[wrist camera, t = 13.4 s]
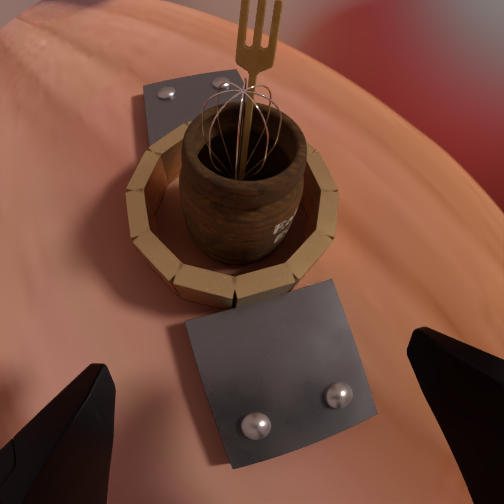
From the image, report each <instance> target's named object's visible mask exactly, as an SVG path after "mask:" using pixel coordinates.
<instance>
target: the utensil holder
mask: <svg viewBox="0 0 504 504" xmlns="http://www.w3.org/2000/svg"><path fill="white" fill-rule="evenodd" d="M249 4H250V0H242V1H241V10H240V19H239V29H238V39H237V49H236V60H235V61H236V63H237V65H239V66H240V67H242V68H243V69H245V70H246V71H248V73H249V82H248V88H247V89H246V81H247V79H246V78H245V79H244V84H243V89H241V88H240V87H239V86H237V85H236V84H234V83H231V82H223V83H221V84H220V85H219V87H218V90H217V94H215V95H213V96H212V97H210V98H209V99H208V100H207V101H206V102H205V104H204V105H203V108H202V113H201V114H199V115H198V116H197V117H196V118H195V119H194V120H193V121H192V122H191V123H190V125H189V126H188V128H187V130H186V132H185V134H184V137H183V143H182V151H181V161H182V166H181V170H180V177H179V187H180V195H181V201H182V206H183V210H184V215H185V219H186V222H187V226H188V229H189V231H190V234H191V236H192V238H193V239H194V241H195V243H196V244H197V245H198V246H199V248H200V249H201V250H203V251H204V252H205V253H206V254H207V255H209V256H210V257H212V258H214V259H216V260H219V261H221V262H225V263H229V264H248V263H252V262H256V261H259V260H261V259H263V258H265V257H266V256H268V255H270V254H271V253H272V252H273V251H274V250H275V249H276V248H277V247H278V246H279V245H280V244H281V242H282V241H283V239H284V238H285V236H286V234H287V232H288V230H289V228H290V226H291V223H292V221H293V219H294V217H295V214H296V212H297V209H298V207H299V204H300V201H301V197H302V193H303V184H304V178H303V174H304V171H305V168H306V161H307V144H306V140H305V137H304V135H303V133H302V131H301V129H300V128H299V126H298V125H297V124H296V123H295V122H294V121H293V120H292V119H291V118H290V117H289V116H287V115H286V114H284V113H283V112H281V111H280V109H279V108H278V106H277V105H276V104H275V103H274V102H273V101H272V100H271V98H272V94H271V91H270V89H269V88H268V87H267V86H264V85H256V78H257V75H258V73H259V72H262V71H264V70H267V69H269V68H272V66H273V65H274V59H275V52H276V46H277V39H278V32H279V25H280V19H281V13H282V6H283V2H282V0H276V1H275V4H274V10H273V17H272V24H271V31H270V38H269V45H268V47H267V48H262V47H261V39H262V31H263V23H264V16H265V7H266V0H258V7H257V14H256V22H255V30H254V38H253V45H252V46H251V47H248V46H246V45H245V40H246V31H247V21H248V12H249ZM225 83H229V84H232V85H234V86H236V87H237V88H239V89H240V90H229V91H223V92H220V93H219V89H220V87H221V86H222V85H223V84H225ZM259 86H262V87H265V88H267V89H268V90H269V92H270V99H269V98H268V97H266V96H264V95H262V94H259V93H256V92H255V87H259ZM246 90H248V91H246ZM226 92H239V93H238V94H236V95H235V96H233V97H232V98H231V99H230V100H228V101H227V102H226V103H223V104H220V105H218V95H219V94H222V93H226ZM246 92H247V93H246ZM241 93H242V98H241V101H237V102H230V101H231V100H232V99H234V98H235V97H236V96H238V95H239V94H241ZM245 94H246V95H247V101H245ZM254 94H257V95H260V96H262V97H264V98H266V99H268V100H269V101H270V103H269V106H268V105H264V104H260V103H255V102H254ZM215 96H217V105H216V106H214V107H211V108H209V109H207V110H205V111H204V112H203V110H204V107H205V105H206V104H207V102H208V101H209V100H210V99H212V98H213V97H215ZM243 96H244V101H243ZM271 102H272V103H273V104H274V105H275V106H276V108H277V109H278V110H277V109H275V108H273V107H270V106H271Z"/></svg>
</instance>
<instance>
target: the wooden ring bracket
mask: <svg viewBox="0 0 504 504" xmlns="http://www.w3.org/2000/svg"><path fill="white" fill-rule="evenodd" d="M223 82H231V83H234V84H236V85H237V86H239V87H240V88H241V89H243V84H244V83H243V81H242V79H241V77H240V75H239V73H238V71H237V69H234V70H226V71H218V72H211V73H205V74H198V75H192V76H187V77H182V78H176V79H171V80H167V81H162V82H158V83H153V84H149V85H145V86H143V91H144V102H145V111H146V120H147V128H148V136H149V144H150V147H149V151H145V153H144V155H143V156H142V158H141V160H140V162H139V164H138V166H137V168H136V170H135V172H134V174H133V176H132V178H131V180H130V182H129V184H128V186H127V188H126V190H127V192H125V194H126V204H127V212H128V221H129V228H130V236H131V239H132V240H133V243H134V245H135V246H136V248H137V249H138V251H139V252H140V253H141V255H142V256H143V258H144V259H145V261H146V262H147V264H148V265H149V266H150V267H151V268H152V269H153V270H154V271H155V272H156V273H157V274H158V275H159V276H160V277H161V279H162V280H163V281H164V282H165V283H166V284H167V285H168V286H169V287H170V288H171V289H172V290H173V291H174V292H175V293H176V294H177V295H178V296H181V297H182V299H186V300H189V301H193V302H197V303H201V304H205V305H208V306H212V307H216V308H220V309H224V310H225V311H222V312H218V313H214V314H211V315H207V316H203V317H199V318H196V319H192V320H188V321H185V324H186V327H187V331H188V335H189V338H190V342H191V345H192V349H193V353H194V356H195V359H196V363H197V366H198V370H199V373H200V376H201V379H202V383H203V386H204V389H205V392H206V395H207V398H208V401H209V404H210V407H211V410H212V413H213V416H214V419H215V422H216V425H217V428H218V431H219V434H220V436H221V439H222V442H223V445H224V447H225V450H226V453H227V455H228V458H229V461H230V463H231V466H232V468H233V469H236V468H240V467H244V466H247V465H251V464H254V463H258V462H261V461H264V460H268V459H271V458H274V457H277V456H280V455H283V454H286V453H289V452H292V451H294V450H297V449H300V448H303V447H305V446H308V445H310V444H313V443H316V442H318V441H320V440H323V439H325V438H328V437H330V436H332V435H335V434H337V433H339V432H341V431H344V430H346V429H348V428H350V427H352V426H354V425H356V424H358V423H361V422H363V421H365V420H367V419H369V418H371V417H372V416H374V415H376V414H377V410H376V407H375V403H374V400H373V397H372V393H371V390H370V387H369V384H368V381H367V377H366V374H365V371H364V368H363V365H362V362H361V359H360V356H359V353H358V350H357V347H356V344H355V341H354V338H353V335H352V332H351V329H350V326H349V324H348V321H347V318H346V315H345V312H344V310H343V307H342V304H341V301H340V299H339V296H338V293H337V291H336V288H335V285H334V283H333V280H332V279H330V280H326V281H323V282H320V283H317V284H314V285H311V286H307V287H304V288H301V289H298V290H294V291H291V290H292V289H293V288H294V286H295V285H296V284H297V283H298V282H299V281H300V280H301V279H302V278H303V276H304V275H305V274H306V273H307V272H308V271H309V270H310V268H311V267H312V266H313V265H314V264H315V263H316V262H317V260H318V259H319V258H320V257H321V255H322V254H323V253H324V252H325V251H326V249H327V248H328V247H329V246H330V244H331V243H332V242H333V239H334V238H335V231H336V221H337V211H338V200H339V193H337V191H338V188H337V186H336V184H335V182H334V180H333V178H332V176H331V174H330V172H329V170H328V168H327V167H326V165H325V163H324V161H323V159H322V157H321V155H320V153H319V152H315V151H316V149H315V148H314V147H313V146H311V145H310V144H308V143H307V142H306V144H307V161H306V168H305V171H304V174H303V178H304V184H303V193H302V197H301V202H302V205H303V207H304V209H305V212H306V214H307V216H308V218H307V224H306V231H305V237H304V243H303V244H302V245H301V247H300V248H299V249H298V250H297V251H296V252H295V253H294V254H293V255H292V256H291V257H290V258H289V259H288V260H287V261H286V263H283V264H279V265H275V266H272V267H268V268H265V269H261V270H257V271H254V272H250V273H246V274H242V275H239V276H235V277H234V276H230V275H226V274H222V273H218V272H214V271H210V270H206V269H202V268H198V267H194V266H190V265H186V264H183V263H182V262H181V261H180V260H179V259H178V258H177V257H176V256H175V255H174V254H173V253H172V252H171V251H170V250H169V249H168V248H167V247H166V246H165V245H164V244H163V243H162V242H161V241H160V240H159V238H158V233H157V228H156V222H155V215H156V212H157V210H158V207H159V205H160V202H161V200H162V198H163V195H164V193H165V191H166V188H167V186H168V184H170V183H171V182H172V181H173V180H175V179H176V178H177V177H178V176H180V170H181V166H182V161H181V151H182V143H183V137H184V134H185V132H186V130H187V128H188V126H189V125H190V123H191V122H192V121H193V120H194V119H195V118H196V117H197V116H198V115H199V114H201V113H202V108H203V105H204V104H205V102H206V101H207V100H208V99H209V98H210V97H212V96H213V95H215V94H217V90H218V87H219V85H220V84H221V83H223ZM246 89H247V88H246ZM229 90H240V89H239V88H237V87H236V86H234V85H232V84H229V83H225V84H223V85H222V86H221V87H220V89H219V93H220V92H223V91H229ZM246 91H248V90H246ZM238 93H239V92H226V93H222V94H219V95H218V105H220V104H223V103H226V102H227V101H228V100H230V99H231V98H232V97H233V96H235V95H236V94H238ZM246 93H247V92H246ZM241 98H242V93H241V94H239V95H238V96H236V97H235V98H234V99H232V100H231V101H230V102H237V101H241ZM243 101H244V96H243ZM245 101H247V95H246V94H245ZM216 105H217V96H215V97H213V98H212V99H210V100H209V101H208V102H207V104H206V105H205V107H204V110H203V112H204V111H205V110H207V109H209V108H211V107H214V106H216ZM290 291H291V292H290ZM233 304H234V308H233V309H232V305H233Z"/></svg>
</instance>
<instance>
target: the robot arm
mask: <svg viewBox="0 0 504 504" xmlns="http://www.w3.org/2000/svg"><path fill="white" fill-rule="evenodd" d="M407 356H408V359H409V361H410V363H411V366H412V368H413V370H414V373H415V375H416V378H417V380H418V382H419V385H420V387H421V390H422V392H423V394H424V396H425V398H426V400H427V402H428V404H429V406H430V408H431V410H432V412H433V414H434V416H435V418H436V420H437V422H438V424H439V426H440V428H441V430H442V432H443V434H444V436H445V438H446V440H447V442H448V444H449V447H450V449H451V451H452V453H453V455H454V457H455V460H456V462H457V464H458V466H459V469H460V471H461V473H462V476H463V478H464V480H465V483H466V485H467V487H468V490H469V493H470V495H471V498H472V501H473V503H474V504H504V360H503V359H501V358H498V357H496V356H494V355H491V354H489V353H487V352H484V351H482V350H480V349H477V348H475V347H473V346H470V345H468V344H466V343H463V342H461V341H459V340H456V339H454V338H452V337H449V336H447V335H444V334H442V333H440V332H437V331H435V330H433V329H430V328H428V327H421V328H417V329H415V330H414V331H413V333H412V336H411V339H410V342H409V345H408V347H407ZM115 394H116V390H115V384H114V382H113V379H112V377H111V375H110V372H109V370H108V368H107V366H106V365H105V364H101V363H92V364H90V365H89V366H88V367H87V368H86V369H85V370H84V371H83V372H81V373H80V374H79V375H78V376H77V377H76V378H75V379H74V380H73V381H72V382H71V383H70V384H69V385H67V386H66V387H65V388H64V389H63V390H62V391H61V392H60V393H59V394H58V395H57V396H56V397H55V398H54V399H53V400H52V401H51V402H49V403H48V404H47V405H46V406H45V407H44V408H43V409H42V410H41V411H40V412H39V413H38V414H37V415H36V416H35V417H34V418H33V419H32V420H31V421H30V422H29V423H28V424H27V425H25V426H24V427H23V428H22V429H21V430H20V431H19V432H18V433H17V434H16V435H15V436H14V438H13V439H11V440H10V441H9V442H8V443H7V444H6V445H5V446H4V447H3V448H2V449H1V450H0V504H107V491H108V480H109V471H110V462H111V454H112V446H113V437H114V411H115Z"/></svg>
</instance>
